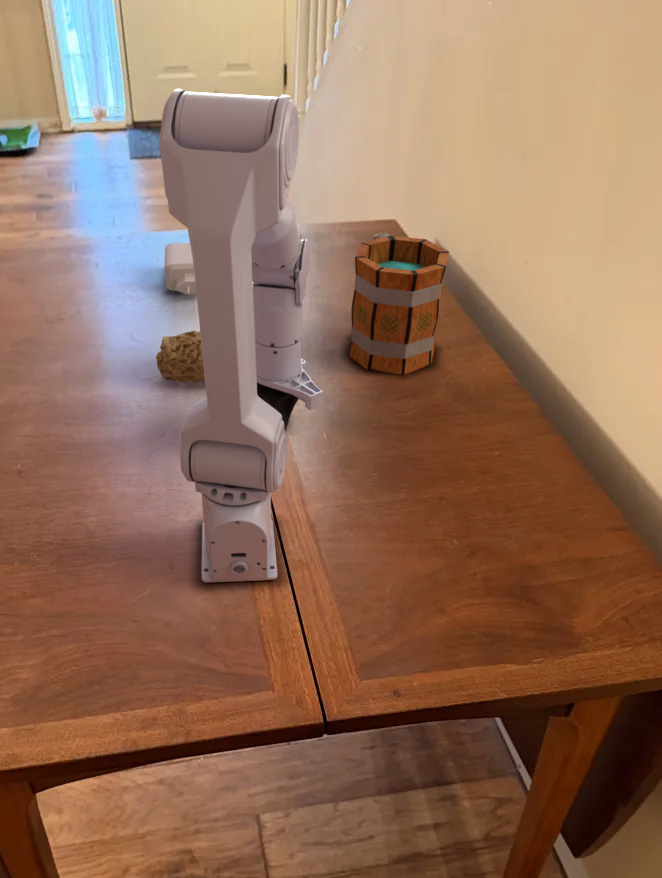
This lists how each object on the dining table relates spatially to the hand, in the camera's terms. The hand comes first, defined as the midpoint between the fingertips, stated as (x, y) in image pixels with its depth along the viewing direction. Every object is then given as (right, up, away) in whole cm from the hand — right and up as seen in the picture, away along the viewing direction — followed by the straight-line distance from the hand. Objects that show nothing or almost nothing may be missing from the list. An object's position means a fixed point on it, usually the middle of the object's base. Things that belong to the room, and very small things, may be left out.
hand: (276, 431), depth 100 cm
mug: (+17, +16, +20) cm, 31 cm away
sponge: (-7, +11, +13) cm, 18 cm away
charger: (-14, +29, +34) cm, 47 cm away
